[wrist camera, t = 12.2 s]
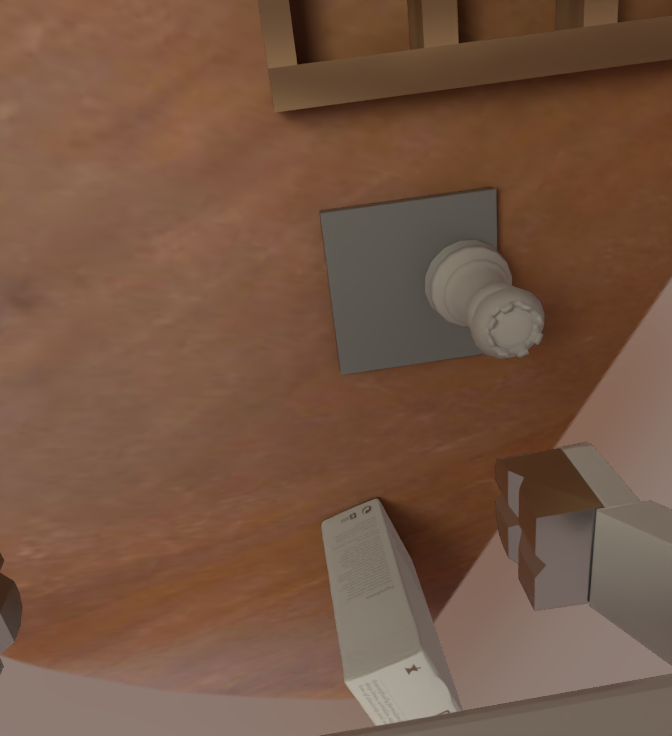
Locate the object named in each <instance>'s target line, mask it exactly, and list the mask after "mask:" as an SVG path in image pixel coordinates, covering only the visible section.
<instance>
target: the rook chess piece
mask: <svg viewBox="0 0 672 736" xmlns="http://www.w3.org/2000/svg"><path fill="white" fill-rule="evenodd" d="M425 294H426V296H427V299H428V301H429V303H430V306H431V307H432V308H433V309H434V310H435V311H436V312H437V313H438V314H440V315H441V316H442V317H443V318H444V319H445V320H446V321H448V322H451V323H454V324H457V325H460V326H469V328H470V331H471V335H472V337H473V340H474V342H475V345H476V346H477V347H478V348H479V349H480V350H481V351H482V352H483V353H484V354H485V355H489V356H492V357H495V358H498V359H500V358H505V359H508V358H512V357H515V356H517V357H518V358H521V357H523V356H526V355H528V354H530V353H529V352H528V349H529V348H530V347H531V346H532V345H533V344H534V343H535V344H537V345H539V343H540V341H541V340H542V338H543V336H544V335H543V334H542V333H541V332H542V330H543V326H544V324H545V323H544V316H545V314H544V311H543V308H542V305H541V302H540V301H539V300H538V299H537V298H536V297H535V296H534V295H533V294H532V293H531V292H529V291H526V290H523V289H520V288H516V287H515V286H512V275H511V272H510V270H509V267H508V264H507V261H506V260H505V259H504V258H503V257H502V256H501V255H500V254H499V253H498V252H497V251H496V250H495V249H494V248H493V247H492V246H491V245H489V244H486V243H483V242H481V241H478V240H466V241H458V242H456V243H454V244H452V245H450V246H448V247H446V248H444V249H443V250H442V251H441V252H440V253H439V254H438V255H437V256H436V257H435V258H434V259H433V260H432V262H431V264H430V266H429V269H428V271H427V273H426V276H425Z"/></svg>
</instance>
